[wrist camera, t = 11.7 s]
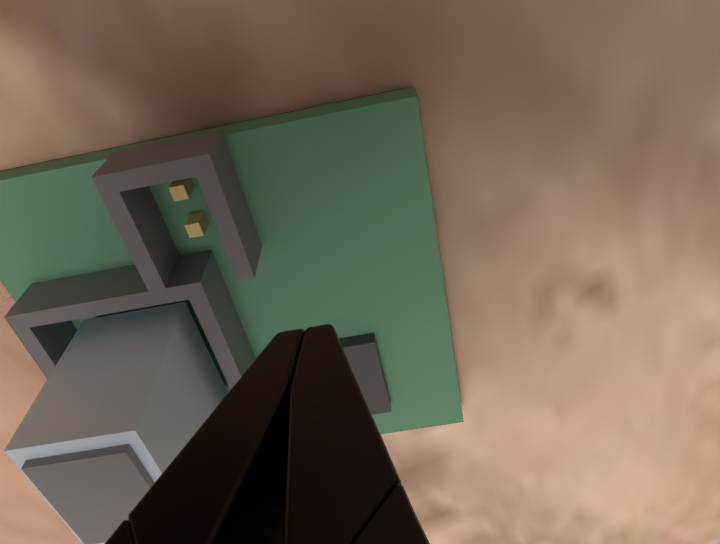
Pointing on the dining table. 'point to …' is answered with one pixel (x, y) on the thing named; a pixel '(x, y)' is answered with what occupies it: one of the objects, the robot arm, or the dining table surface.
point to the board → (267, 236)
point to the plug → (116, 415)
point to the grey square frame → (127, 292)
